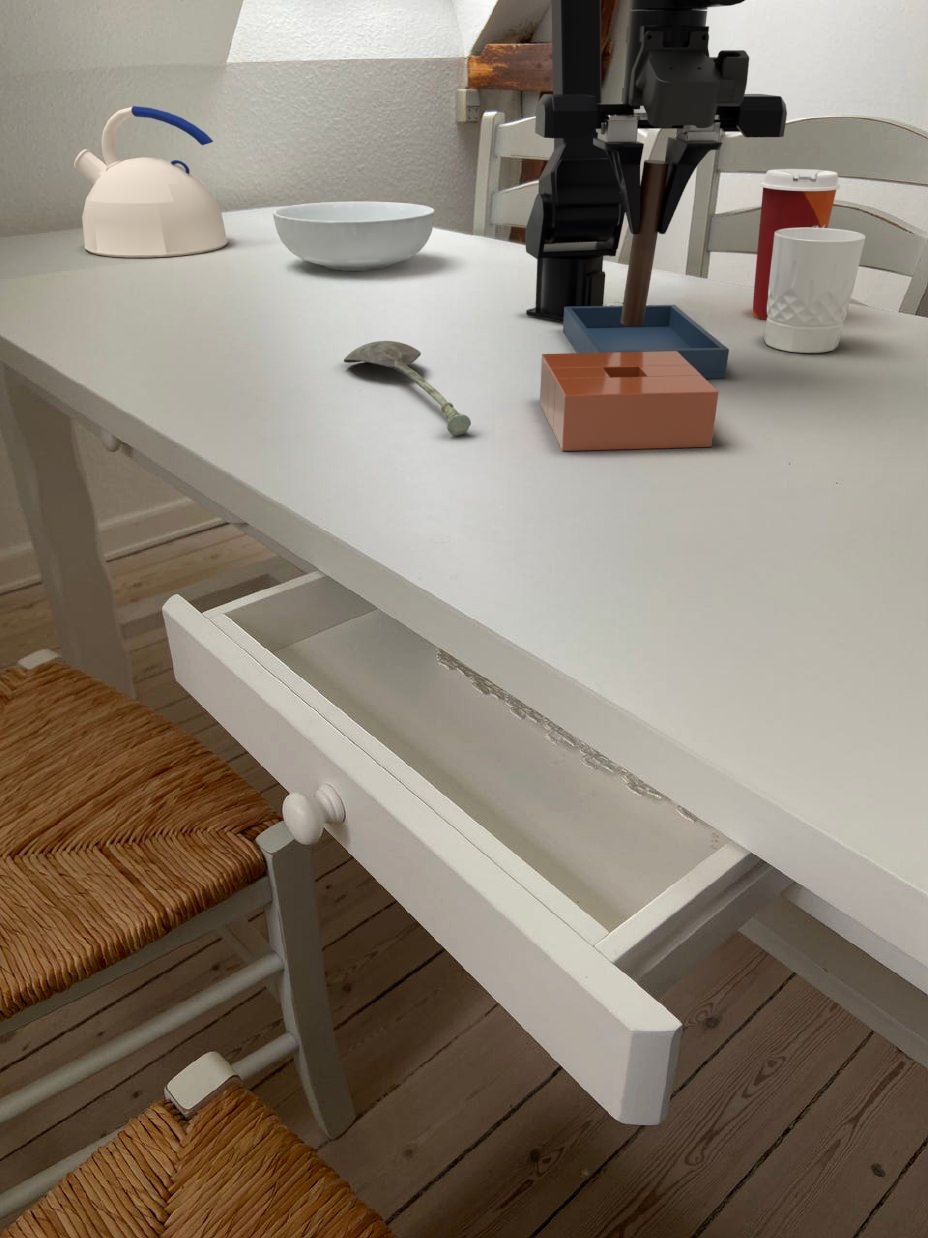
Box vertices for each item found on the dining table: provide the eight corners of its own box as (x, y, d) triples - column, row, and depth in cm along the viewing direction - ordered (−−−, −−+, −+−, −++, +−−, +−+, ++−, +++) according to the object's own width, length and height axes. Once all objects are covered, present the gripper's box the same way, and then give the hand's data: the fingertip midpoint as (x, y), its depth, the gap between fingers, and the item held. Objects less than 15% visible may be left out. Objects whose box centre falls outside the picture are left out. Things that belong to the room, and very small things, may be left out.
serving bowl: (465, 260, 131) (465, 205, 128) (372, 287, 116) (369, 226, 112) (344, 246, 141) (341, 195, 137) (243, 269, 125) (237, 212, 122)
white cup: (844, 338, 95) (865, 229, 90) (843, 358, 88) (866, 242, 83) (761, 331, 97) (777, 225, 92) (754, 351, 91) (771, 238, 86)
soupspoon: (407, 364, 89) (338, 374, 87) (403, 326, 88) (333, 337, 86) (500, 429, 71) (416, 444, 69) (498, 384, 69) (412, 398, 68)
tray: (562, 331, 97) (564, 306, 96) (672, 329, 98) (675, 304, 97) (596, 381, 82) (598, 351, 81) (725, 378, 83) (729, 349, 82)
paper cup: (820, 325, 99) (847, 176, 92) (743, 322, 101) (764, 174, 94) (812, 308, 106) (837, 168, 99) (740, 305, 107) (759, 167, 100)
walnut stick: (615, 322, 85) (639, 160, 77) (629, 318, 86) (653, 158, 79) (634, 328, 84) (659, 164, 76) (647, 324, 85) (673, 162, 78)
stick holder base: (539, 403, 77) (541, 353, 75) (671, 400, 78) (677, 350, 76) (562, 451, 68) (565, 395, 66) (711, 447, 68) (719, 391, 66)
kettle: (120, 233, 151) (98, 102, 142) (248, 236, 149) (234, 103, 140) (55, 256, 134) (26, 108, 125) (199, 259, 131) (179, 109, 122)
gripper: (561, 6, 65) (550, 252, 73) (833, 7, 66) (793, 249, 74) (538, 11, 74) (530, 228, 82) (775, 12, 75) (745, 226, 83)
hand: (647, 233), depth 80 cm, fingers closed on walnut stick, 2 cm apart
